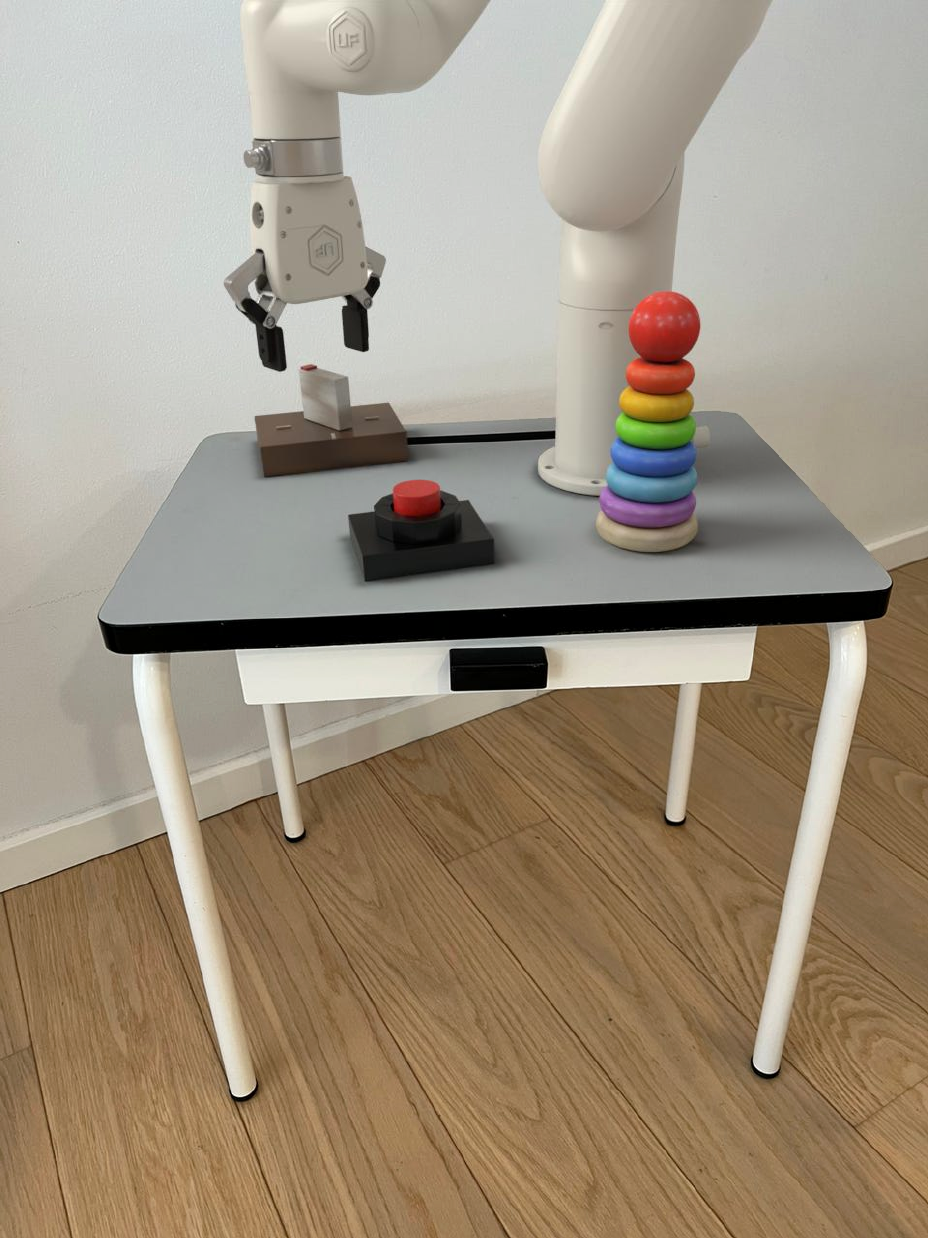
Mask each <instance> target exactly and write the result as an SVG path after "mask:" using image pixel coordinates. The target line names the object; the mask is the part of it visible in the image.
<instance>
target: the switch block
mask: <svg viewBox="0 0 928 1238" xmlns="http://www.w3.org/2000/svg"><path fill="white" fill-rule="evenodd" d="M440 498H441V509H440V511H437V512H435V513H432V514H429V515H421V516H409V515H401V514H398V513H396V512H395V511H394V500H393V492H392V493H390V494H386V495H385V496H382V497H381V498H380V499H379V500H378V501H376V503H375V504H374V505H373V511H367V512H366V511H365V512H361V513H360V512H359V513H358V512H357V513H350V514H348V515H347V518H348V519H347V520H348V529H349V538H350V542H351V545H352V548H353V551H354V554H355V557H356V561H357V563H358V566H359V569H360V571H361V575H362V578H363V580H364V583H367V582H374V581H381V580H388V579H394V578H395V579H397V578H403V577H404V578H405V577H411V576H418V575H425V574H433V573H439V572H440V573H441V572H448V571H454V570H461V569H462V570H463V569H469V568H477V567H482V566H483V567H485V566H490V565H495V538H494V537H493V535H492V533H491V532H490V531H489V529H488V527H487V526H486V524H485V523H484V521H483V520H482V518H481V517H480V515H479V514H478V513H477V510H476V509H475V508H474V506H473V505H472V503H471V502H470V500H469V499H464V500H459V499H458V497H457V496H456V495H455V494H452V493H450V492H446V491H444V490H441V489H440Z"/></svg>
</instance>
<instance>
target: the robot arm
mask: <svg viewBox="0 0 928 1238" xmlns="http://www.w3.org/2000/svg"><path fill="white" fill-rule="evenodd" d="M490 2H491V0H242V2H241V5H240V9H239V22H240V32H241V40H242V41H241V42H242V51H243V52H242V53H243V61H244V68H245V78H246V88H247V96H248V106H249V112H250V113H249V114H250V115H249V116H250V123H251V131H252V132H251V133H252V138H253V140H252V141H251V142H252V143H251V144H252V149H247V150H245V151H244V152H243V162H244V165H245V166H246V167H247V168H248V169H252V168H254V169H255V174H256V177H257V180H253V181H251V189H250V190H251V191H250V202H249V243H250V244H249V245H250V257H249V258H248V259H246V260H245V261H244V262H243V263H241V264H240V265H239V266H238V267H237V268H236V269H235V270H234V271H232V272H231V273H230V274H229V275H228V276H227V277H225V279H224V280H223V286H224V288H225V290H226V292H227V293H228V295H229V296H230V298H231V300H232V301H233V303H234V306H235V308H236V309H237V311H239V312H240V313H241V314H243V315H244V316H245V318H247V319H248V321H249V323H250V324H253V325H254V326H255V333H256V341H257V349H258V357H259V359H260V361H261V364H262V366H263V367H264V368H265V369H266V368H267V369H269V370H271V371H276V372H278V373H281V372H285V371H286V370H287V367H288V364H287V363H288V362H287V355H286V354H287V353H286V345H285V344H286V343H285V337H284V335H285V334H284V329H283V327H282V326H278V325H277V324H278V322H279V320H280V318H281V316H282V314H283V312H284V310H285V308H286V306H287V305H288V304H290V305H301V304H308V303H313V302H319V301H323V300H328V299H335V298H340V297H341V298H342V299H343V300H344V302H345V303H346V305H345V304H344V305H341V307H342V308H341V319H342V331H343V332H342V333H343V345H344V347H345V348H347V349H350V350H354V351H356V352H360V353H365V352H369V350H370V342H369V340H370V339H369V337H370V333H369V332H370V331H369V316H368V315H369V314H368V310H370V309H371V308H372V307H373V305H374V300H373V298H374V297H375V295H376V293H377V292H378V290H379V288H380V287H381V278H382V275H383V272H384V269H385V265H386V262H387V259H386V257H385V255H383V254H381V253H380V252H378V251H375V250H373V249H371V248H370V247H367V246H366V241H365V240H366V239H365V234H364V227H363V226H364V225H363V221H362V220H363V219H362V215H361V209H360V204H359V201H358V196H357V192H356V188H355V186H354V185H355V184H354V182H353V179H352V176H347V175H344V159H343V146H342V144H343V143H342V133H341V121H340V120H341V118H340V117H341V116H340V100H339V93H343V94H349V95H357V96H381V95H384V96H385V95H388V94H404V93H410V92H413V91H416V90H418V89H420V88H422V87H423V86H425V85H426V84H427V83H429V82H430V81H431V80H432V79H433V78H434V77H435V76H436V75H438V73H439V72H440V70H442V68H443V67H444V65H445V64H447V62H448V60H449V59H450V58H451V57H452V55H453V54H454V53H455V51H456V50H457V49H458V47H459V46H460V44H461V43H462V42H463V40H464V39H465V38H466V36H467V35H468V34H469V33H470V31H471V30H472V28H473V27H474V26H475V24H476V23H477V21H478V20H479V19H480V17H481V16H482V14H483V13H484V11H485V9H486V8H487V7H488V5H489V3H490ZM772 2H773V0H605V1H604V3H603V5H602V7H601V10H600V12H599V14H598V16H597V18H596V20H595V22H594V24H593V26H592V28H591V30H590V32H589V34H588V37H587V38H586V40H585V42H584V44H583V47H582V49H581V50H580V52H579V55H578V57H577V58H576V60H575V63H574V65H573V67H572V69H571V71H570V73H569V74H568V77H567V79H566V81H565V82H564V85H563V87H562V89H561V91H560V93H559V95H558V97H557V98H556V102H555V104H554V106H553V107H552V109H551V112H550V114H549V116H548V118H547V121H546V123H545V126H544V128H543V131H542V133H541V137H540V140H539V141H540V142H539V147H538V153H537V170H538V171H537V173H538V179H539V184H540V187H541V190H542V193H543V196H544V197H545V199H546V201H547V204H549V206H550V207H551V209H552V210H553V212H555V214H556V215H557V216H558V217H559V218H561V230H560V231H561V232H560V243H559V255H558V256H559V257H558V281H557V283H558V285H557V286H558V288H557V326H556V327H557V330H556V331H557V332H556V333H557V334H556V379H555V380H556V386H555V387H556V388H555V389H556V390H555V397H556V398H555V435H554V436H555V439H554V440H555V442H554V446H552V447H550V448H548V449H546V450H545V451H544V452H542V454H541V455H540V456H539V458H538V460H537V473H538V475H539V476H540V478H541V479H542V480H543V481H545V482H546V483H547V484H548V485H550V486H553V487H555V488H557V489H559V490H562V491H566V492H570V493H574V494H578V495H586V496H595V497H600V494H601V491H602V490H603V489H604V487H605V486H606V485H608V484H607V481H606V473H607V470H608V468H609V466H610V465H611V464H612V463H613V461H612V458H611V453H610V451H611V446H612V444H613V442H614V441H615V440H616V439H617V438H618V435H617V433H616V421H617V418H618V417H619V416H620V414H622V413H623V411H622V410H621V408H620V405H619V398H620V395H621V393H622V392H623V391H624V390H625V389H626V388H627V387H629V386H630V385H629V384H628V382H627V380H626V369H627V367H628V365H629V364H630V363H631V362H632V361H633V360H635V359H637V358H640V357H641V356H640V355H639V354H638V353H637V352H636V351H635V349H634V348H633V346H632V344H631V341H630V337H629V322H630V318H631V315H632V313H633V311H634V309H635V308H636V306H637V305H638V304H639V303H640V302H641V301H642V300H643V299H644V298H646V297H647V296H649V295H651V294H654V293H656V292H662V291H672V292H673V281H674V266H675V256H676V255H675V254H676V245H677V234H678V224H679V215H680V206H681V200H682V199H681V198H682V191H683V184H684V183H683V182H684V173H685V155H686V154H685V152H686V151H687V148H688V147H689V145H690V143H691V142H692V140H693V138H694V136H695V135H696V133H697V131H698V130H699V128H700V126H701V125H702V123H703V121H704V120H705V118H706V116H707V114H708V113H709V111H710V110H711V108H712V106H713V105H714V103H715V101H716V99H717V98H718V96H719V94H720V92H721V91H722V89H723V88H724V85H725V84H726V82H727V81H728V79H729V77H730V76H731V74H732V72H733V70H734V69H735V67H736V65H737V64H738V62H739V61H740V59H742V57H743V56H744V54H745V53H746V52H747V51H748V50H749V48H750V47H751V46H752V45H753V43H754V41H755V40H756V38H757V36H758V35H759V32H760V30H761V27H762V25H763V23H764V20H765V18H766V15H767V12H768V10H769V8H770V6H771V4H772ZM252 282H253V284H254V287H255V290H256V293H257V294H258V296H257V297H256V300H255V299H253V297H252V296H251V293H250V291H249V285H250V284H251V283H252ZM711 438H712V436H711V430H710V428H709V427H708V425H704V426H696V431H695V435H694V437H693V438H692V440H691V441H692V443H693V444H694V445H695V448H696V449H701V448H707V447H709V446H710V444H711Z"/></svg>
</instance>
